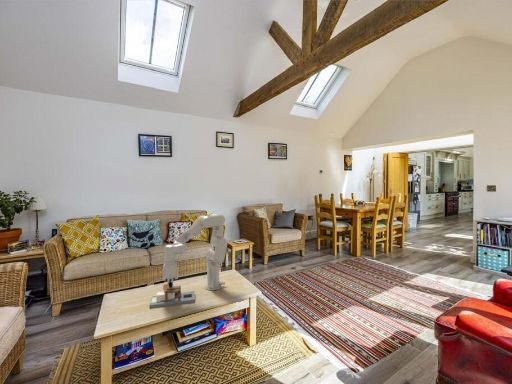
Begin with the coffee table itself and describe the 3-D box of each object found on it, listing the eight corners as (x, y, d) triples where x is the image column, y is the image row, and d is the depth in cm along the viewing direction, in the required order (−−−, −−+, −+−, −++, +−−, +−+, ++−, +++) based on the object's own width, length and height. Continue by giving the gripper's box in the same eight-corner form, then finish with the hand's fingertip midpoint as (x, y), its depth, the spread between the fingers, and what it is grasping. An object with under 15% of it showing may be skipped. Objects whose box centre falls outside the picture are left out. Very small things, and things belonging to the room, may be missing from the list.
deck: (194, 293, 188) (194, 290, 187) (194, 302, 174) (194, 299, 174) (152, 298, 180) (152, 295, 180) (149, 308, 166) (149, 305, 166)
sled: (174, 295, 180) (174, 281, 180) (174, 299, 174) (174, 285, 173) (157, 297, 177) (157, 283, 177) (156, 301, 171) (155, 287, 170)
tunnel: (180, 294, 182) (180, 285, 182) (180, 299, 174) (180, 290, 174) (166, 295, 180) (166, 287, 180) (165, 301, 171) (165, 292, 171)
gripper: (181, 259, 181) (181, 284, 182) (159, 261, 177) (160, 286, 178) (180, 262, 174) (181, 288, 174) (158, 264, 170) (158, 290, 170)
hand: (170, 287), depth 176 cm, fingers closed
